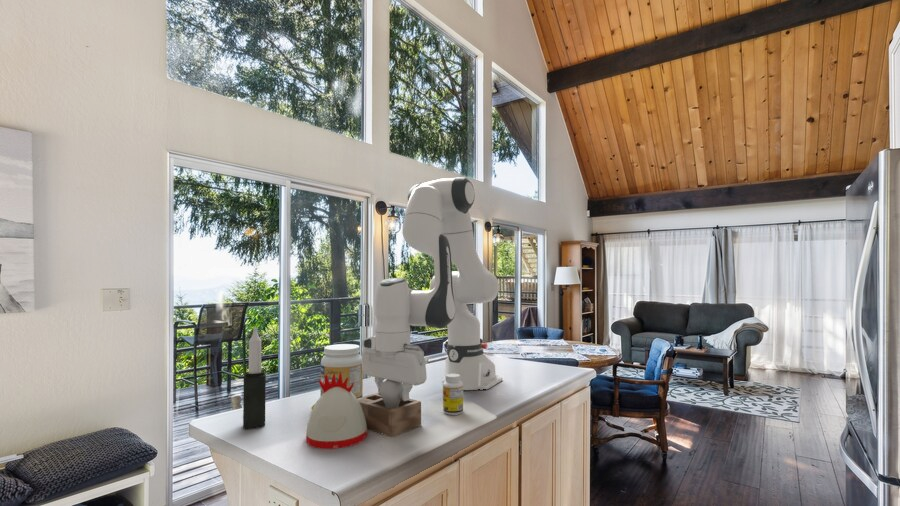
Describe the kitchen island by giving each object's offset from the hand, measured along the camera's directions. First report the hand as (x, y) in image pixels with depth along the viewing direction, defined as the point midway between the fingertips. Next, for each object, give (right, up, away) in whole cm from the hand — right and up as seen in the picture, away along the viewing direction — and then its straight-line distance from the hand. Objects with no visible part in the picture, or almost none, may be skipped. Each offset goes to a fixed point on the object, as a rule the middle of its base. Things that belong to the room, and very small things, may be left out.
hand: (393, 397), depth 111 cm
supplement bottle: (+15, -8, +10) cm, 20 cm away
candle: (-36, -8, +2) cm, 37 cm away
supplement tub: (-18, -8, +19) cm, 27 cm away
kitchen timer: (-12, -7, -7) cm, 16 cm away
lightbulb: (-1, -7, 0) cm, 7 cm away
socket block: (-2, -7, +1) cm, 8 cm away
